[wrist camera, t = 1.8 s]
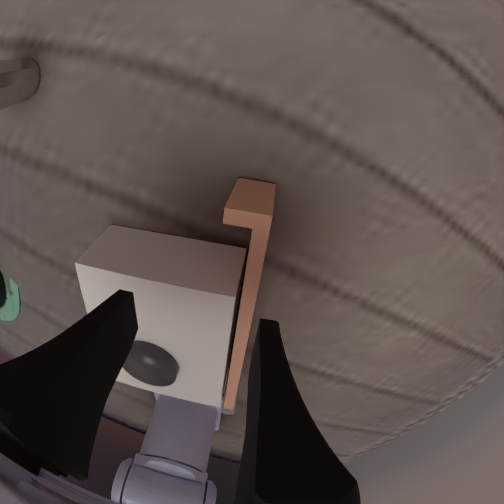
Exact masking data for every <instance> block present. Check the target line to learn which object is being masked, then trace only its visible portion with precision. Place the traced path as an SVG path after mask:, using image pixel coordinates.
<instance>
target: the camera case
mask: <svg viewBox="0 0 504 504" xmlns="http://www.w3.org/2000/svg"><path fill="white" fill-rule="evenodd" d="M246 249H247V248H241V247H235V246H230V245H224V244H219V243H213V242H207V241H202V240H196V239H190V238H185V237H179V236H173V235H167V234H162V233H156V232H150V231H145V230H139V229H133V228H128V227H122V226H116V225H110V226H109V227H108V228H107V229H106V230H105V231H104V232H103V233H102V234H101V235H100V236H99V237H98V238H97V239H96V241H95V242H94V243H93V244H92V245H91V246H90V247H89V248H88V249H87V250H86V251H85V252H84V253H83V254H82V255H81V256H80V258H79V259H78V260H77V261H76V262H75V266H76V270H77V275H78V279H79V283H80V287H81V291H82V295H83V299H84V303H85V306H86V310H87V314H88V313H90V312H91V311H92V310H93V309H95V308H96V307H97V306H98V305H100V304H101V303H102V302H104V301H105V300H106V299H107V298H109V297H110V296H111V295H112V294H114V293H115V292H116V291H118V290H119V289H121V290H125V291H130V292H133V294H134V302H135V309H136V316H137V322H138V331H137V334H136V337H135V340H134V343H133V345H132V348H131V351H130V353H129V355H128V357H127V359H126V361H125V363H124V365H123V367H122V369H121V371H120V373H119V375H118V377H117V379H116V381H119V382H122V383H125V384H128V385H131V386H135V387H138V388H141V389H145V390H148V391H152V392H155V393H159V394H163V395H167V396H171V397H175V398H179V399H183V400H187V401H192V402H196V403H201V404H206V405H211V406H216V407H220V405H221V400H222V395H223V390H224V385H225V380H226V375H227V370H228V365H229V359H230V352H231V346H232V339H233V333H234V326H235V320H236V313H237V307H238V300H239V294H240V287H241V281H242V275H243V268H244V262H245V256H246Z"/></svg>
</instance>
